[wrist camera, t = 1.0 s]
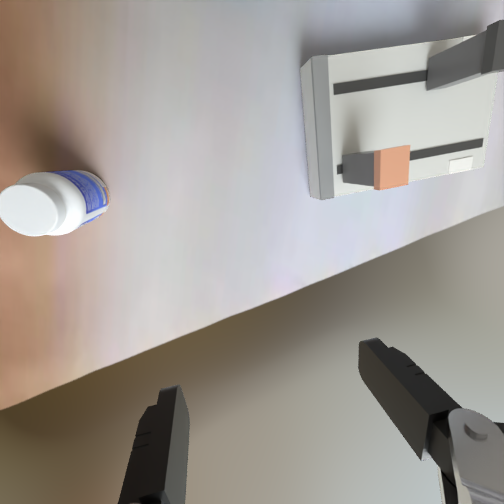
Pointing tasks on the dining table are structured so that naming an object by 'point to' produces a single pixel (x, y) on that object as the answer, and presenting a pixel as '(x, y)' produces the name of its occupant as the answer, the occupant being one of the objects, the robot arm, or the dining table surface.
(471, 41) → the black fader
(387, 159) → the terracotta fader
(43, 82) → the dining table surface
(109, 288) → the dining table surface
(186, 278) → the dining table surface
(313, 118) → the console
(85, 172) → the pill bottle
